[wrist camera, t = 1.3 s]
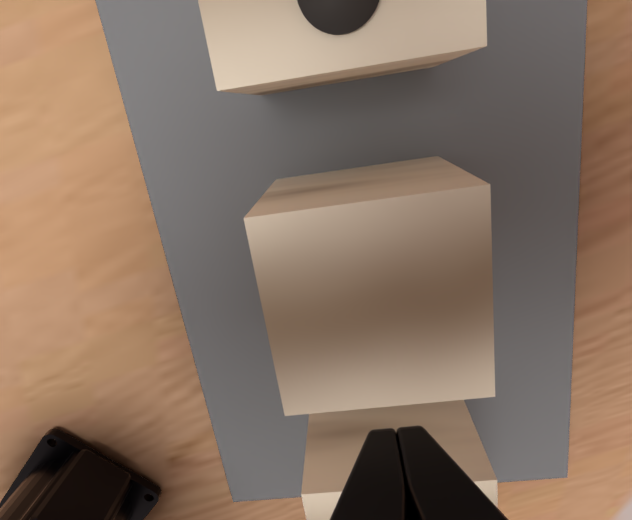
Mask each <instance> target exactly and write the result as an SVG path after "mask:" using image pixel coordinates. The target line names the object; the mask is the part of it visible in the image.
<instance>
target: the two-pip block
mask: <svg viewBox="0 0 632 520" xmlns="http://www.w3.org/2000/svg"><path fill="white" fill-rule="evenodd" d="M198 3H199V8H200V12H201V17H202V22H203V27H204V32H205V36H206V41H207V46H208V51H209V56H210V60H211V65H212V70H213V75H214V79H215V84H216V89H217V91H221V92H231V93H242V94H252V95H267V94H273V93H279V92H285V91H291V90H297V89H303V88H309V87H315V86H322V85H328V84H334V83H340V82H346V81H352V80H358V79H364V78H370V77H376V76H383V75H389V74H395V73H401V72H407V71H413V70H419V69H425V68H431V67H435V66H437V65H440V64H442V63H445V62H447V61H450V60H453V59H455V58H458V57H460V56H463V55H465V54H468V53H471V52H473V51H476V50H478V49H481V48H483V47H486V46H487V17H486V0H198Z"/></svg>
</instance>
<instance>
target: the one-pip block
mask: <svg viewBox="0 0 632 520" xmlns="http://www.w3.org/2000/svg"><path fill="white" fill-rule="evenodd" d="M417 425H419V426H422V427H424V428H425V429H426V430H427V432H428V433H429V434H430V435H431V436H432V437H433V438H434V439H435V440H436V441H437V442H438V444H439V445H440V446H441V447H442V448H443V449H444V450H445V451H446V452H447V453H448V454H449V456H450V457H451V458H452V459H453V460H454V461H455V462H456V463H457V464H458V465H459V466H460V468H461V469H462V470H463V471H464V472H465V473H466V474H467V475H468V476H469V477H470V478H471V480H472V481H473V482H474V483H475V484H476V485H477V486H478V487H479V488H480V489H481V490H482V492H483V493H484V494H485V495H486V496H487V497H488V498H489V499H490V500H491V501H492V502H493V504H494V505H495V506H496V507H497V508H498V490H497V478H496V476H495V473H494V471H493V469H492V466H491V464H490V461H489V459H488V457H487V454H486V452H485V449H484V447H483V445H482V442H481V440H480V437H479V435H478V433H477V430H476V428H475V425H474V423H473V421H472V418H471V416H470V413H469V411H468V409H467V406H466V404H465V402H464V400H455V401H444V402H433V403H422V404H411V405H400V406H390V407H379V408H368V409H357V410H346V411H335V412H324V413H313V414H309V420H308V430H307V440H306V450H305V460H304V471H303V481H302V491H301V496H302V501H303V506H304V511H305V515H306V520H330V518H331V515H332V513H333V511H334V509H335V506H336V504H337V502H338V500H339V497H340V495H341V493H342V491H343V488H344V486H345V484H346V482H347V479H348V477H349V475H350V473H351V470H352V468H353V466H354V464H355V461H356V459H357V457H358V455H359V452H360V450H361V448H362V446H363V443H364V441H365V439H366V437H367V435H368V433H369V431H371V430H373V429H383V428H393V429H394V430H395V431H397V429H398V428H399V427H406V426H417Z"/></svg>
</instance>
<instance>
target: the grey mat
mask: <svg viewBox="0 0 632 520" xmlns="http://www.w3.org/2000/svg"><path fill="white" fill-rule="evenodd" d="M95 1H96V4H97V8H98V12H99V15H100V19H101V23H102V26H103V30H104V34H105V37H106V41H107V44H108V48H109V52H110V55H111V59H112V63H113V66H114V70H115V74H116V77H117V81H118V84H119V88H120V92H121V95H122V99H123V103H124V106H125V110H126V114H127V117H128V121H129V124H130V128H131V132H132V135H133V139H134V143H135V146H136V150H137V154H138V157H139V161H140V165H141V168H142V172H143V175H144V179H145V183H146V186H147V190H148V194H149V197H150V201H151V205H152V208H153V212H154V215H155V219H156V223H157V226H158V230H159V234H160V237H161V241H162V245H163V248H164V252H165V256H166V259H167V263H168V266H169V270H170V274H171V277H172V281H173V285H174V288H175V292H176V296H177V299H178V303H179V306H180V310H181V314H182V317H183V321H184V325H185V328H186V332H187V336H188V339H189V343H190V346H191V350H192V354H193V357H194V361H195V365H196V368H197V372H198V376H199V379H200V383H201V387H202V390H203V394H204V397H205V401H206V405H207V408H208V412H209V416H210V419H211V423H212V427H213V430H214V434H215V437H216V441H217V445H218V448H219V452H220V456H221V459H222V463H223V467H224V470H225V474H226V478H227V481H228V485H229V488H230V492H231V496H232V499H233V502H240V501H254V500H267V499H281V498H294V497H302V496H301V491H302V481H303V471H304V460H305V450H306V440H307V430H308V420H309V414H302V415H292V416H285V415H284V410H283V405H282V400H281V396H280V391H279V386H278V381H277V377H276V372H275V367H274V362H273V357H272V353H271V348H270V343H269V338H268V333H267V329H266V324H265V319H264V314H263V309H262V305H261V300H260V295H259V290H258V285H257V281H256V276H255V271H254V266H253V262H252V257H251V252H250V247H249V242H248V238H247V233H246V228H245V223H244V217H245V216H246V214H247V213H248V212H249V211H250V210H251V209H252V207H253V206H254V205H255V204H256V203H257V201H258V200H259V199H260V198H261V197H262V195H263V194H264V193H265V192H266V191H267V189H268V188H269V187H270V186H271V185H272V184H273V182H274V181H275V180H276V179H282V178H289V177H296V176H302V175H309V174H316V173H323V172H330V171H337V170H344V169H351V168H358V167H365V166H372V165H378V164H385V163H392V162H399V161H406V160H413V159H420V158H427V157H434V156H439V157H441V158H443V159H444V160H446V161H448V162H450V163H452V164H454V165H456V166H457V167H459V168H461V169H463V170H465V171H467V172H469V173H470V174H472V175H474V176H476V177H478V178H480V179H482V180H483V181H485V182H487V183H489V184H490V189H491V232H492V275H493V318H494V361H495V397H487V398H477V399H466V400H464V402H465V404H466V406H467V409H468V411H469V413H470V416H471V418H472V421H473V423H474V425H475V428H476V430H477V433H478V435H479V437H480V440H481V442H482V445H483V447H484V449H485V452H486V454H487V457H488V459H489V461H490V464H491V466H492V469H493V471H494V473H495V476H496V478H497V483H498V482H512V481H525V480H539V479H552V478H566V477H567V473H568V450H569V426H570V402H571V378H572V354H573V330H574V306H575V283H576V259H577V235H578V211H579V187H580V163H581V140H582V116H583V92H584V68H585V44H586V20H587V0H486V17H487V46H486V47H483V48H481V49H478V50H476V51H473V52H471V53H468V54H465V55H463V56H460V57H458V58H455V59H453V60H450V61H447V62H445V63H442V64H440V65H437V66H435V67H431V68H425V69H419V70H413V71H407V72H401V73H395V74H389V75H383V76H376V77H370V78H364V79H358V80H352V81H346V82H340V83H334V84H328V85H322V86H315V87H309V88H303V89H297V90H291V91H285V92H279V93H273V94H267V95H252V94H242V93H231V92H221V91H217V89H216V84H215V79H214V75H213V70H212V65H211V60H210V56H209V51H208V46H207V41H206V36H205V32H204V27H203V22H202V17H201V12H200V8H199V3H198V0H95Z"/></svg>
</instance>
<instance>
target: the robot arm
mask: <svg viewBox="0 0 632 520" xmlns="http://www.w3.org/2000/svg"><path fill="white" fill-rule="evenodd" d="M150 494H151V495H150ZM160 496H161V489H160V488H159V487H158V486H157V485H155V484H153V483H152V482H150V481H148V480H146V479H145V478H143V477H141V476H139V475H138V474H136V473H134V472H132V471H131V470H129V469H127V468H125V467H124V466H122V465H120V464H118V463H117V462H115V461H113V460H111V459H110V458H108V457H106V456H104V455H103V454H101V453H99V452H97V451H96V450H94V449H92V448H90V447H89V446H87V445H85V444H84V443H82V442H80V441H78V440H77V439H75V438H73V437H71V436H70V435H68V434H66V433H64V432H63V431H61V430H58V429H51V430H49V431H48V432H47V433H46V435H45V436H44V437H43V438H42V440H41V441H40V443H39V444H38V446H37V447H36V449H35V450H34V452H33V453H32V455H31V456H30V458H29V459H28V461H27V463H26V464H25V466H24V467H23V469H22V470H21V472H20V473H19V475H18V476H17V478H16V479H15V481H14V482H13V484H12V486H11V487H10V489H9V490H8V492H7V493H6V495H5V496H4V498H3V499H2V501H1V502H0V520H143V519H144V518H145V517H146V516H147V514H148V513H149V512H150V511H151V510H152V508H153V507H154V506H155V505H156V503H157V502H158V500H159V498H160ZM330 520H508V519H507V518H506V517H505V516H504V514H503V513H502V512H501V511H500V510H499V509H498V508H497V507H496V506H495V505H494V504H493V502H492V501H491V500H490V499H489V498H488V497H487V496H486V495H485V494H484V493H483V492H482V490H481V489H480V488H479V487H478V486H477V485H476V484H475V483H474V482H473V481H472V480H471V478H470V477H469V476H468V475H467V474H466V473H465V472H464V471H463V470H462V469H461V468H460V466H459V465H458V464H457V463H456V462H455V461H454V460H453V459H452V458H451V457H450V456H449V454H448V453H447V452H446V451H445V450H444V449H443V448H442V447H441V446H440V445H439V444H438V442H437V441H436V440H435V439H434V438H433V437H432V436H431V435H430V434H429V433H428V432H427V430H426V429H425V428H424V427H422V426H419V425H417V426H406V427H399V428H398V429H397V431H395V430H394V429H393V428H383V429H373V430H371V431H369V433H368V435H367V437H366V439H365V441H364V443H363V446H362V448H361V450H360V452H359V455H358V457H357V459H356V461H355V464H354V466H353V468H352V470H351V473H350V475H349V477H348V479H347V482H346V484H345V486H344V488H343V491H342V493H341V495H340V497H339V500H338V502H337V504H336V506H335V509H334V511H333V513H332V515H331V518H330Z"/></svg>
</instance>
